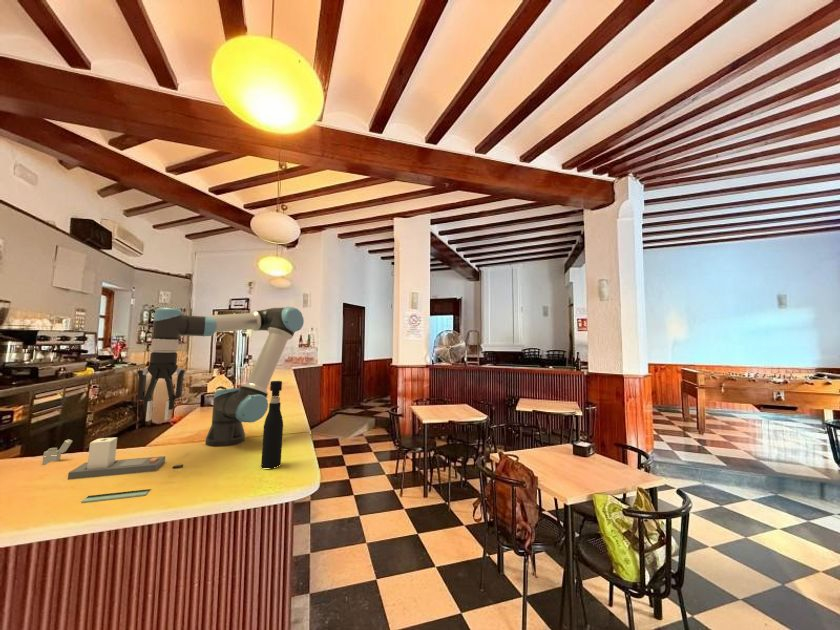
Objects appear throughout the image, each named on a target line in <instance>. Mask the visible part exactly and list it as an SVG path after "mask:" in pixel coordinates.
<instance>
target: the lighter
mask: <svg viewBox="0 0 840 630" xmlns="http://www.w3.org/2000/svg"><path fill="white" fill-rule="evenodd" d="M71 444H73V440H72V439H69V438H68V439H65V440H64V442H63V443H62V445H61V446H60V448H59V449H58V447H51V448H49V447H48V449H47V450H46V451H44V452H43V456H42V461H41V462H42V463H41V465H42V466H45V465H47V464H49V463H51V462H52V463H53V462H59V461H61V457H62V454H63V453H65V452H66V451H68V449H69V447H70V446H71ZM51 455H57V456H51ZM44 456H46V457H44Z"/></svg>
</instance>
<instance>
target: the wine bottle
mask: <svg viewBox="0 0 840 630" xmlns="http://www.w3.org/2000/svg"><path fill="white" fill-rule="evenodd" d="M269 384H270V386H269V391H271V398H270V402H269V403H268V412H267V415H266V418H265V419H264V424H263V432H262V433H263V435H262V449H261V462H260V463H261V465H260V468H261V467H262V468H274V467H277V466H279V465H280V464H282V461H281V460H282V450H283V449H282V448H283V432H284V419H283V416H282V412H281V404H282V403H281V398H280V391H282V388H283V381H281V380H270V383H269ZM280 466H281V465H280ZM262 468H261V469H262Z"/></svg>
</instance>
